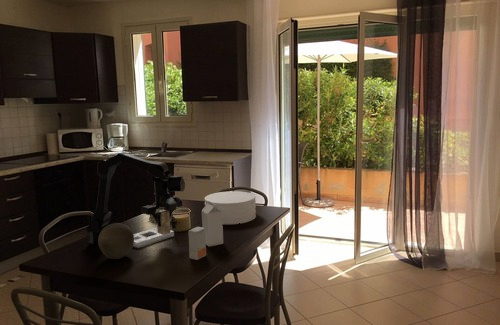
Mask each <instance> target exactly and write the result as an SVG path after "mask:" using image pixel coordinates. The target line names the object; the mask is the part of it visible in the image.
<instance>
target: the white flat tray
mask: <svg viewBox="0 0 500 325" xmlns="http://www.w3.org/2000/svg"><path fill="white" fill-rule="evenodd" d="M133 235H134V244H133V247H134V248H137V249H140V248H144V247H146V246H149V245H152V244H153V245H154V244H155V243H158V242H162V241H163V240H168V239H170V238H173V237H175V230H171V229H170V233H167V234H164V235H162V234H159V233H158V229H157V227H153V228H150V229H147V230H143V231H140V232H137V233H133ZM133 247H132V248H133Z"/></svg>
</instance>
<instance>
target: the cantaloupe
mask: <svg viewBox="0 0 500 325" xmlns="http://www.w3.org/2000/svg"><path fill="white" fill-rule="evenodd" d="M133 234H134V233H133V230H132V229H131V228H130V227H129V226H128V224H127V225H126V224H124V223H120V222H115V223H114V222H113V223H111V224H107V226H106V227H105V228H104V229H103V230H102V231H101V233H100V235H99V237H98V248H99V250H100V251H101V253H102V254H103V255H104V256H105V257H106V258H108V259H111V260H119V259H123V258H124V257H126V256H127V255H128V254H129V253H130V252H132V250H133V244H134V235H133Z"/></svg>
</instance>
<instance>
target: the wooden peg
mask: <svg viewBox="0 0 500 325" xmlns="http://www.w3.org/2000/svg"><path fill="white" fill-rule="evenodd" d="M159 212H161V215H160V220H161V226H158V224H157V223H156V226H157V229H158V233H159V234H162V235H164V234H167V233H170V230H171V221H170V217H169V211H167V210H160V211H159Z"/></svg>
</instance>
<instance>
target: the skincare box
mask: <svg viewBox="0 0 500 325" xmlns="http://www.w3.org/2000/svg"><path fill="white" fill-rule="evenodd" d="M188 247H189V248H188V249H189V250H188V253H189V259H190V260H195V261H198V260H200V259H202V258H204V257H206V256H207V245H206V239H205V228H202V226H195V227H193V228H192V229H189V230H188Z"/></svg>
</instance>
